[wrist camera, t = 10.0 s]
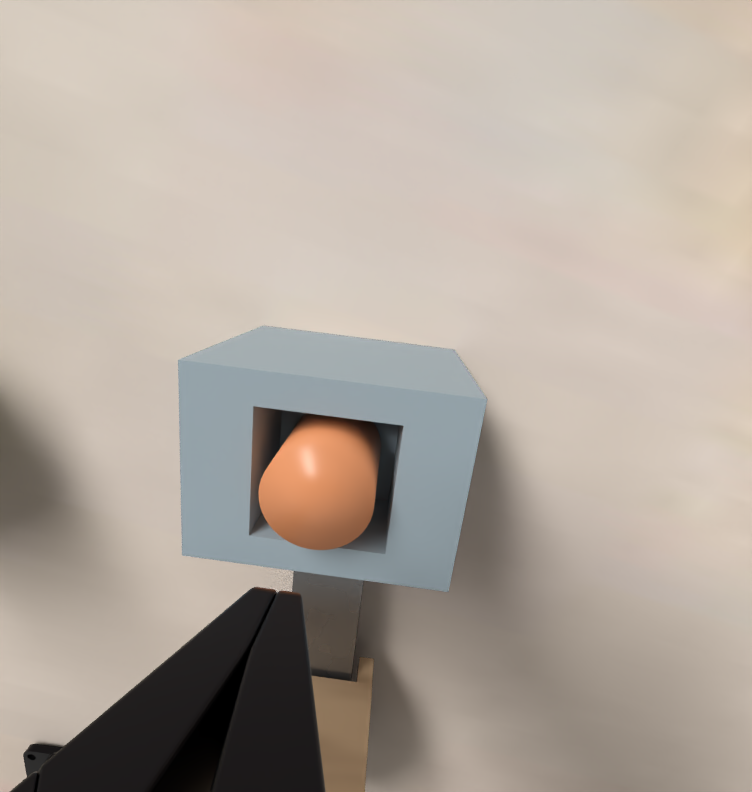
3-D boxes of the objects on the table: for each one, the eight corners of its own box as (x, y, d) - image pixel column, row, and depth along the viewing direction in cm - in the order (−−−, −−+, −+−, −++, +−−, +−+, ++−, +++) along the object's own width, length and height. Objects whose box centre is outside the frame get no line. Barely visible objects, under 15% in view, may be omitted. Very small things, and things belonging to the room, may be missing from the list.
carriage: (363, 729, 22) (348, 907, 16) (269, 715, 22) (218, 887, 16) (374, 655, 21) (362, 820, 15) (273, 641, 21) (219, 799, 15)
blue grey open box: (432, 479, 19) (448, 592, 12) (258, 456, 19) (182, 555, 13) (454, 349, 17) (487, 399, 11) (263, 325, 18) (178, 359, 11)
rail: (360, 742, 24) (349, 859, 19) (273, 729, 24) (241, 843, 19) (401, 455, 19) (402, 517, 14) (291, 440, 19) (254, 498, 14)
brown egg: (375, 489, 15) (367, 557, 11) (290, 478, 15) (256, 541, 11) (386, 408, 14) (380, 454, 10) (295, 396, 14) (260, 438, 10)
